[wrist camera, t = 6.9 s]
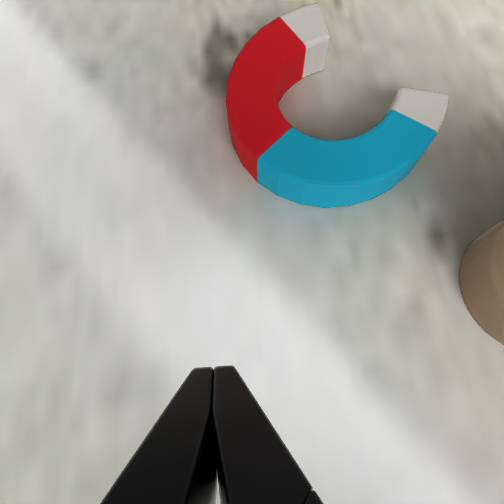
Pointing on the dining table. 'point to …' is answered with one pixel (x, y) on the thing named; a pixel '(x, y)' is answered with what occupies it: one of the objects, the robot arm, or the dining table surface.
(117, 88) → the dining table surface
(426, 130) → the magnet
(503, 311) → the cup
